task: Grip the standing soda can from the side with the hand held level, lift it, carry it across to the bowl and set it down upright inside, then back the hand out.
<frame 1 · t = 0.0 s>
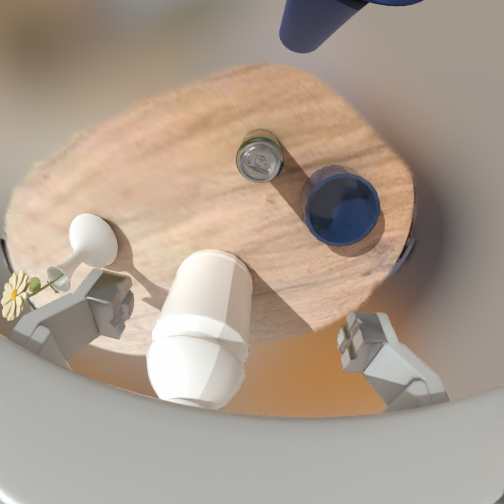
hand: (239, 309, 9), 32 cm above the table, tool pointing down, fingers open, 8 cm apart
soda can: (260, 145, 37), on the table
bowl: (335, 199, 41), on the table
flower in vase: (94, 235, 46), on the table
bottle: (215, 279, 50), on the table
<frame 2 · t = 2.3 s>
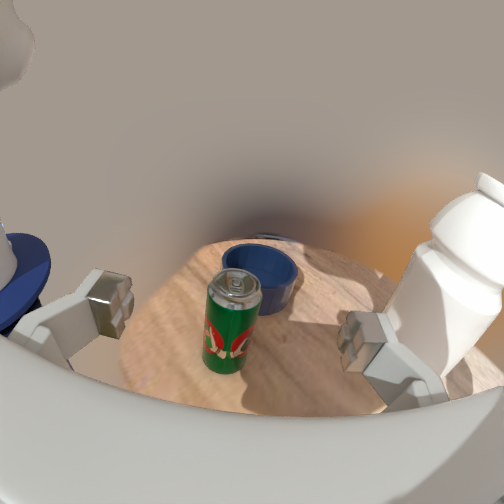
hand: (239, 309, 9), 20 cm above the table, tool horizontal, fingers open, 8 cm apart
soda can: (223, 360, 30), on the table
bowl: (254, 289, 42), on the table
bottle: (399, 364, 33), on the table
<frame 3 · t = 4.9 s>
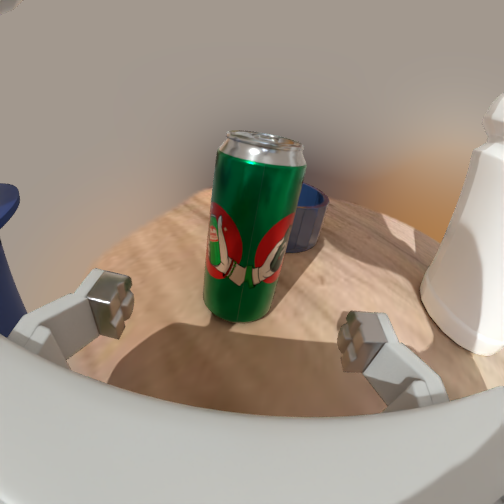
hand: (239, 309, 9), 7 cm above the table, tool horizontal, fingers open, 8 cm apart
soda can: (236, 305, 20), on the table
bowl: (272, 227, 32), on the table
bottle: (462, 315, 23), on the table
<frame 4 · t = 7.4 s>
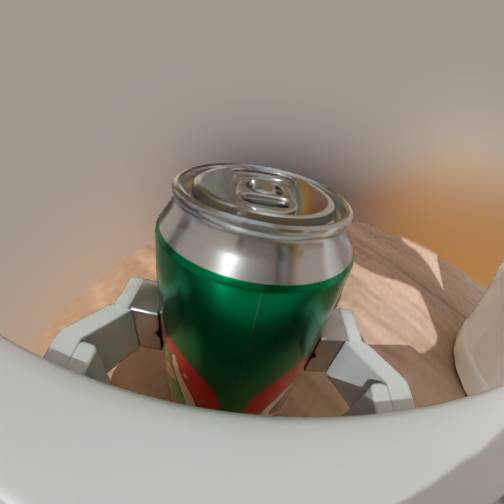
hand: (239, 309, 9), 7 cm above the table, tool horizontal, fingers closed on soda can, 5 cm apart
soda can: (221, 414, 13), on the table, touching gripper
bottle: (495, 376, 15), on the table
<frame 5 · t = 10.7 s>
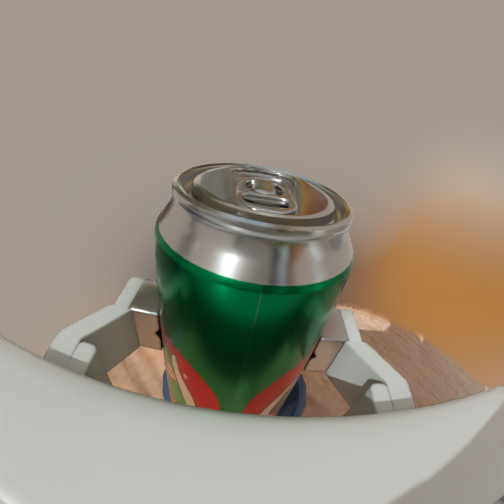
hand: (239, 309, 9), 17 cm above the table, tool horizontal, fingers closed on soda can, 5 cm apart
soda can: (221, 414, 13), point 9 cm above the table, touching gripper
bowl: (229, 408, 22), on the table
when the fingers open (8 cm above the table, at t = 14.4 s): soda can stays where it is, resting on bowl.
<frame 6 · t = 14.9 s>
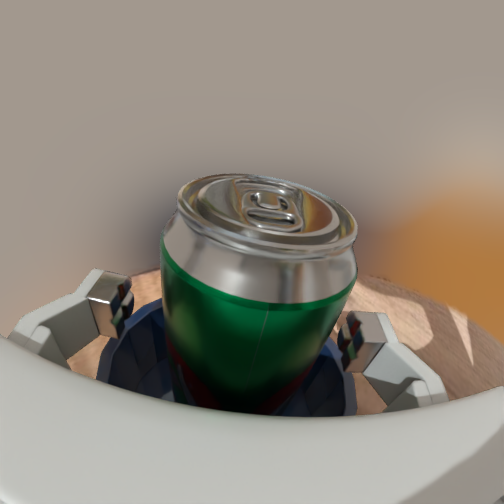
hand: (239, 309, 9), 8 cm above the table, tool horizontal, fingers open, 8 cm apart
soda can: (224, 418, 13), resting on bowl
bowl: (221, 418, 13), on the table
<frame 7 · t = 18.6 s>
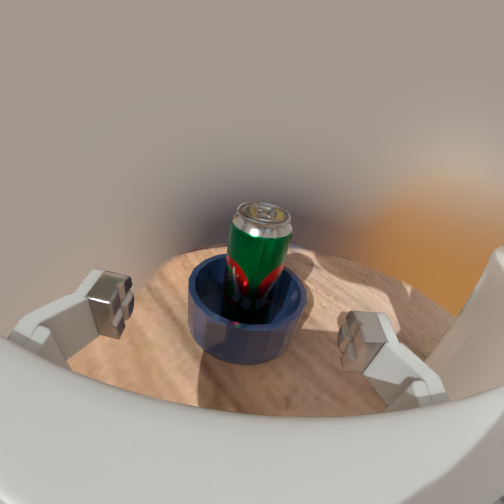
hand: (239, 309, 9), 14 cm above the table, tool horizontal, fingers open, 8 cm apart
soda can: (243, 320, 28), resting on bowl
bowl: (241, 321, 28), on the table
bottle: (445, 416, 18), on the table
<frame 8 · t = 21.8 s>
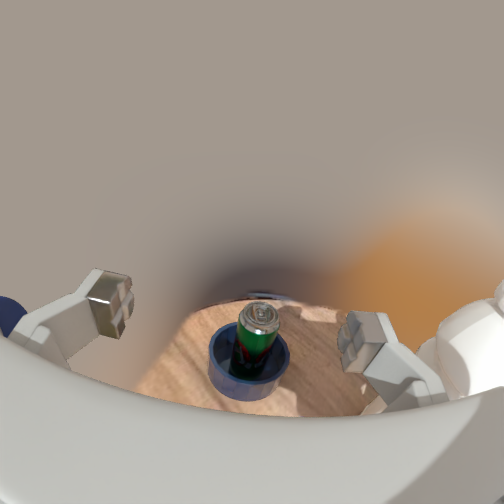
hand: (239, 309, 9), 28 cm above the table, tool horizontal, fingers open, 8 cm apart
soda can: (246, 369, 38), resting on bowl
bowl: (244, 369, 38), on the table
bottle: (388, 439, 29), on the table
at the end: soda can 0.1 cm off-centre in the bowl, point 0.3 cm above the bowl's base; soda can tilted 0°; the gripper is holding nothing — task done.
